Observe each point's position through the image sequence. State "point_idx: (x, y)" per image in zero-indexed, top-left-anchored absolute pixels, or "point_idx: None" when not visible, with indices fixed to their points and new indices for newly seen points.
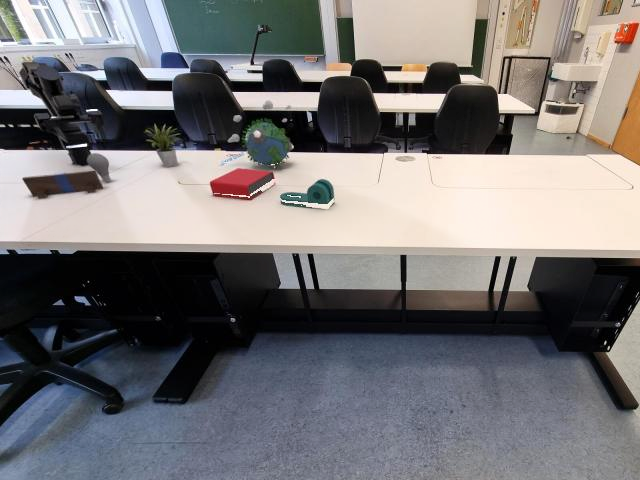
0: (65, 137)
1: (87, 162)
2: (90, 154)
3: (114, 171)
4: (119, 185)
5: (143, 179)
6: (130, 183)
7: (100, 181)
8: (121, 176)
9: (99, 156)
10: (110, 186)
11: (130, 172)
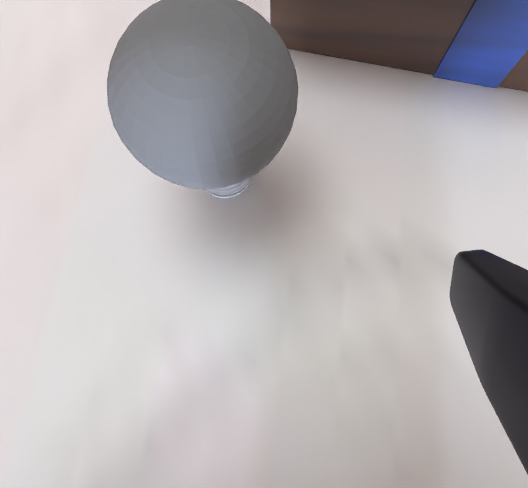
0: (512, 288)
1: (297, 85)
2: (231, 43)
3: (120, 477)
4: None
5: (6, 90)
6: (105, 45)
7: (270, 13)
8: (111, 265)
9: (159, 2)
10: None
11: (20, 353)
